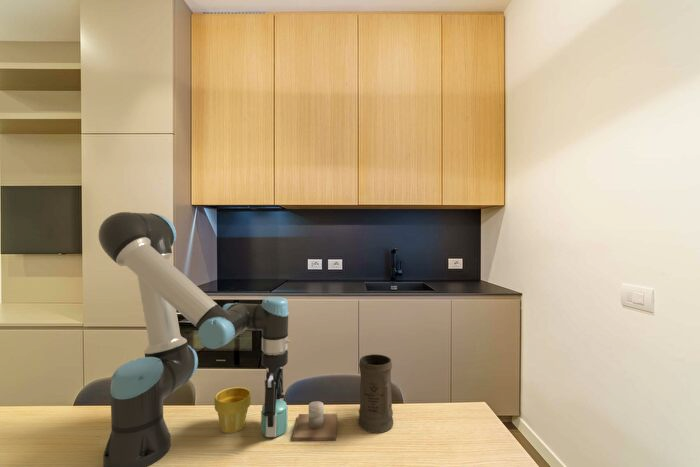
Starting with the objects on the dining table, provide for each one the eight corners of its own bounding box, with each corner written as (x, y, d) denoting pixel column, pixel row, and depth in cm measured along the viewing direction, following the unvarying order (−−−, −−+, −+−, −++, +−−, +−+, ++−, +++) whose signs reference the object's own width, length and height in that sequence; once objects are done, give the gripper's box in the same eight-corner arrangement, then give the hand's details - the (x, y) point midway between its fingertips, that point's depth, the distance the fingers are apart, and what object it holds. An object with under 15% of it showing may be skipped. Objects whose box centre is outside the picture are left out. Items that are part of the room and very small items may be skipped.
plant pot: (256, 418, 107) (256, 387, 107) (242, 438, 97) (242, 404, 96) (224, 416, 108) (224, 385, 108) (207, 436, 98) (207, 402, 97)
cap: (259, 436, 97) (259, 412, 97) (265, 422, 104) (265, 399, 104) (284, 436, 97) (284, 412, 97) (288, 422, 104) (288, 399, 104)
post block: (292, 440, 95) (292, 415, 95) (298, 417, 107) (298, 395, 107) (335, 440, 95) (335, 415, 95) (337, 417, 107) (336, 394, 107)
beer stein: (395, 435, 98) (395, 364, 99) (358, 434, 98) (358, 363, 99) (390, 410, 113) (390, 349, 114) (358, 410, 113) (358, 348, 114)
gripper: (280, 364, 90) (280, 450, 90) (293, 339, 110) (292, 410, 110) (252, 363, 90) (251, 450, 90) (270, 339, 110) (269, 410, 110)
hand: (274, 428), depth 100 cm, fingers closed on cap, 7 cm apart
